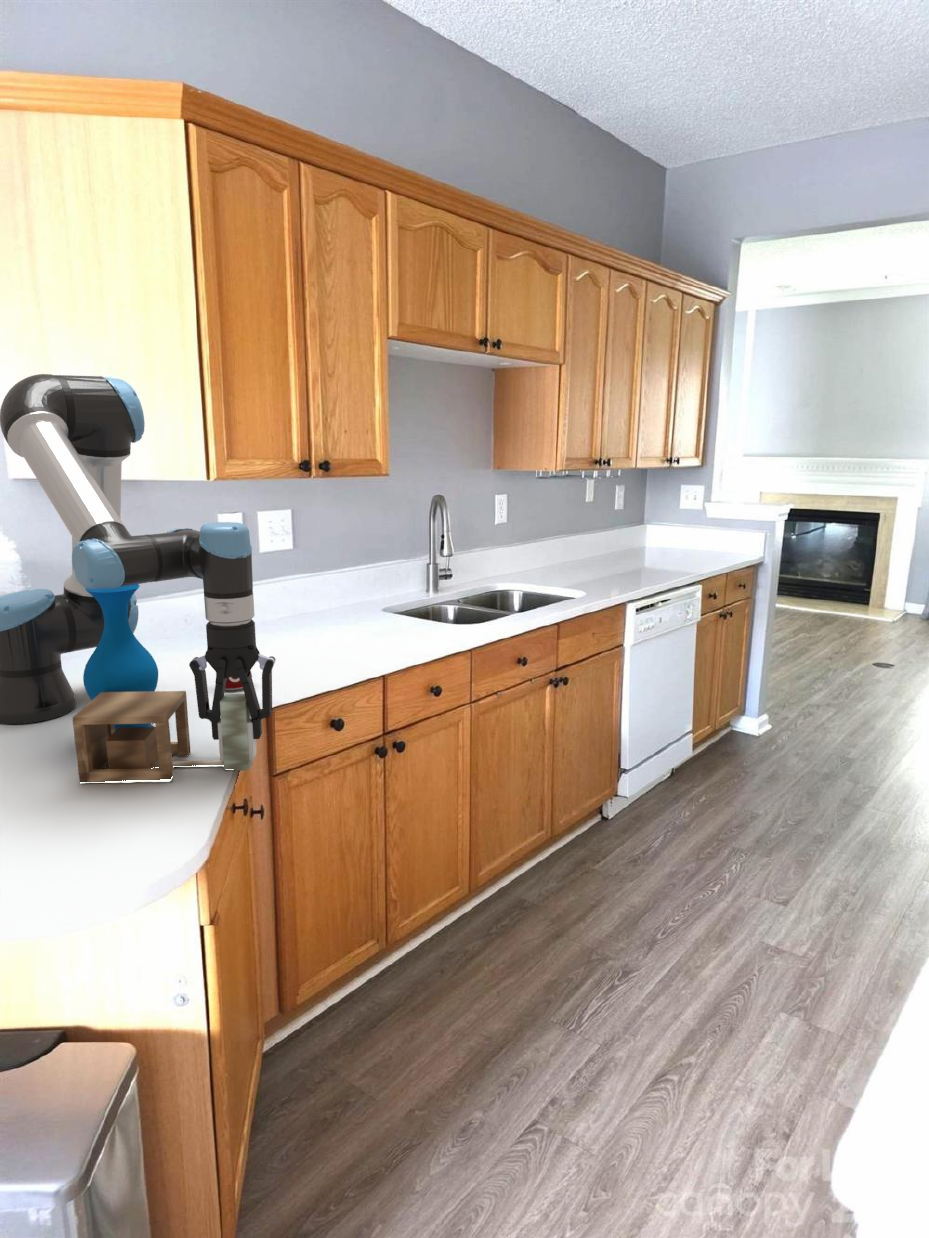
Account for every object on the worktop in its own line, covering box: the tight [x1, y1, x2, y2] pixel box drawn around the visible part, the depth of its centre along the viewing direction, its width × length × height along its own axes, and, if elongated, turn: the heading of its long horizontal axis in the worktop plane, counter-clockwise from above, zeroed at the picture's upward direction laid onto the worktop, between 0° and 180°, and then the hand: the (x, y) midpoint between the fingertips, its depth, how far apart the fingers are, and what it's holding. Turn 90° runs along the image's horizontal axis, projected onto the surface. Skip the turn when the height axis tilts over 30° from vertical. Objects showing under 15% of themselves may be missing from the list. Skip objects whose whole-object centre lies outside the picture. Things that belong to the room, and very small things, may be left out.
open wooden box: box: [71, 690, 191, 783], centre depth 131 cm, size 14×12×11 cm
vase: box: [82, 584, 159, 731], centre depth 141 cm, size 12×13×28 cm
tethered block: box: [106, 693, 255, 772], centre depth 131 cm, size 22×6×12 cm, turn 94°
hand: (238, 756), depth 133 cm, fingers closed on tethered block, 4 cm apart
